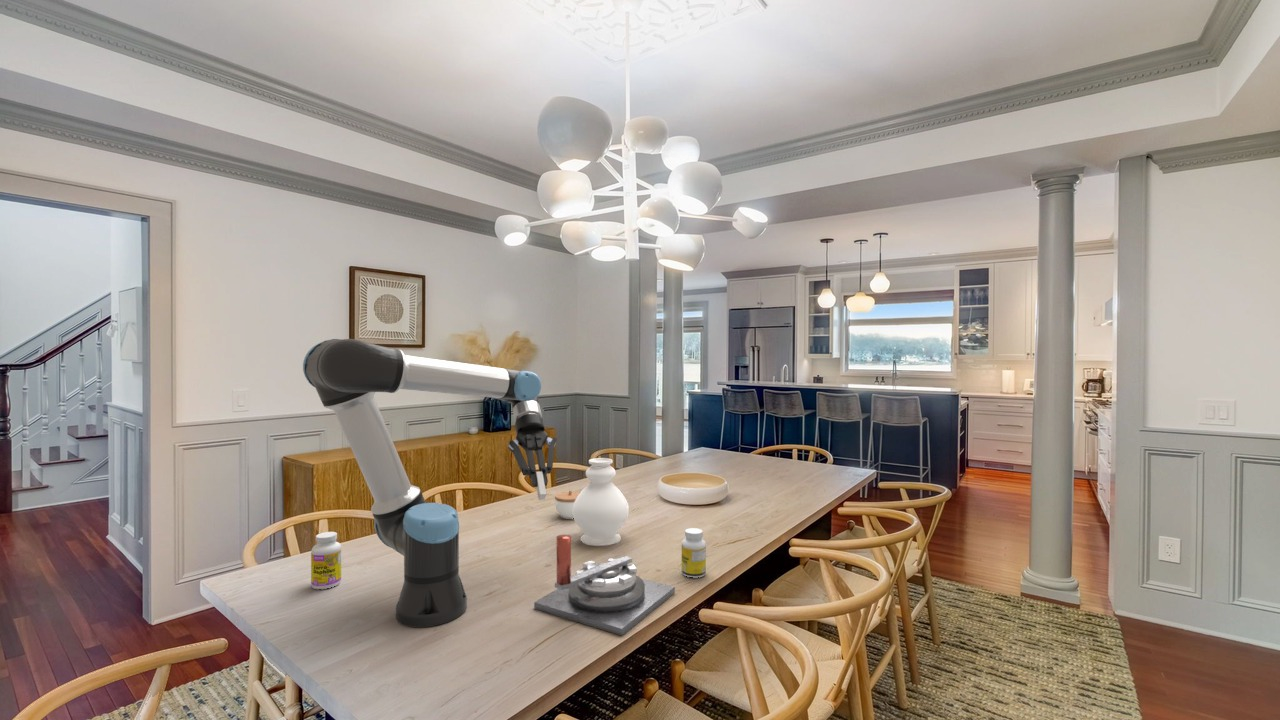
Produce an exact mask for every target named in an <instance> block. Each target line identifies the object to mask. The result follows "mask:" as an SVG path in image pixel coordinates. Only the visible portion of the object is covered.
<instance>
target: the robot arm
mask: <svg viewBox="0 0 1280 720" xmlns="http://www.w3.org/2000/svg"><path fill="white" fill-rule="evenodd" d="M302 371H303V374H304V377H305V379H306V381H308V383H309V384H310V386H312V387H314V388H315V390H316V392H317V394H318V396H319V398H320V401H321V403H322V405H323V408H326V409H329V410H332V411H333V412H334V413H335V416H336V418H337V421H338V422H339V424H340V426H341V430H342V431H343V434H344V436H345V438H346V440H347V442H348V445H349V447H350V449H351V451H352V454H353V456H354V458H355V461H356V463H357V464H358V465H357V466H358V468H359V469H360V472H361V473H362V475H363V478H364V481H365V483H366V485H367V487H368V489H369V491H370V494H371V497H372V498H373V501H374V502H373V504H372V505H371V507H370V511H371V514H372V516H373V518H374V525H373V526H374V531H375V533H376V536H377V537H378V539H379V540H380V541H381V542H382V543H383V544H384V545H386V546H387V547H388V548H391V549H393V550H394V551H395V552H397V553H399V554H400V555H401V556H403V573H404V574H403V577H404V578H403V583H402V584H403V585H402V587H401V592H400V593H399V599H398V601H397V604H396V606H395V620H396V621H397V622H398V624H400V625H403V626H406V627H411V628H425V627H426V628H427V627H428V628H429V627H434V626H438V625H442V624H446V623H449V622H451V621H453V620H456V619H458V618H459V617H460V616H462V615H463V614H464V613H465V612H466V610H467V608H468V603H467V602H468V601H467V600H468V599H467V598H468V597H467V593H466V592H465V588H464V585H463V583H462V580H461V577H460V574H459V573H460V572H459V569H460V568H459V567H460V566H459V565H460V564H459V563H460V562H459V561H460V557H459V555H460V551H459V550H460V547H459V545H460V544H459V542H460V541H459V539H460V537H459V536H460V533H459V532H460V522H459V514H458V511H457V510H456V509H455V508H454V507H453V506H451V505H448V504H446V503H439V502H426V499H425V497H424V495H423V492H422V491H421V489H420V487H419V486H416V485H412V484H411V482H410V479H409V477H408V475H407V472H406V470H405V467H404V465H403V463H402V460H401V458H400V456H399V454H398V451H397V449H396V448H397V447H395V443H394V441H393V440H392V437H391V434H390V432H389V430H388V427H387V425H386V422H385V420H384V417H383V416H382V413H381V411H380V408H379V406H378V404H377V401H376V398H375V393H389V394H395V393H396V392H398V391H399V390H405V391H406V390H408V391H416V392H417V391H418V392H428V393H438V394H452V395H463V396H472V397H473V396H474V397H484V398H493V399H497V400H500V401H503V402H505V403H508V404H511V408H512V415H513V420H514V421H513V422H514V426H515V432H516V436H515V439H514V440H509V442H508V445H507V448H508V450H510V451H511V453H512V454H513V457H514V458H515V461H516V463H517V465H518V467H519V469H520V471H521V474H522V475H523V476H525V477H526V476H529V479H530V481H531V487H532V488H536V492H537V497H538V501H543V500H544V501H545V500H546V497H547V490H546V487H547V486H548V482H549V480H548V475H549V474H552V469H553V466H554V453H555V447H556V444H557V440H558V439H557V437H553V438H551V437H549V435H548V434H547V432H546V430H545V429H546V428H545V425H544V421H543V415H542V410H541V406H540V401H539V395H540V393H541V389H542V382H541V379H540V377H539V375H538V374H537V373H535V372H533V371H529V370H516V369H511V368H510V369H509V368H503V367H502V368H501V367H496V366H489V365H488V366H487V365H484V364H483V365H481V364H476V363H474V364H473V363H466V362H459V361H453V360H445V359H437V358H431V357H423V356H416V355H410V354H405V353H404V352H403V351H402V349H399V348H392V347H387V346H383V345H378V344H374V343H371V342H367V341H365V340H364V341H363V340H359V339H354V338H344V339H342V338H341V339H339V338H332V339H327V340H323V341H321V342H319V343H317V344H315V345H314V346H312V347H311V348H310V349H309V350H308V352H307V353H306V354H305V356H304V359H303V361H302ZM545 444H546V445H547V447H548V450H547V459H546V461H545V456H544V451H543V447H545V446H544V445H545ZM520 447H521V448H522V449H523V450H525V456H526V460H525V456H524V455H523V453H522V451H521V449H520ZM534 453H535V456H536V459H537V467H538V471H537V467H536V462H535V456H534ZM526 461H527V462H526Z"/></svg>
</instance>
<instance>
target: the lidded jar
mask: <svg viewBox="0 0 1280 720" xmlns="http://www.w3.org/2000/svg"><path fill="white" fill-rule="evenodd" d="M580 492H581V491H572V490H568V491H563V492H559V493H556V494H555V496H554V501H555V503H554V504H555V510H556V512H557V514H558V515H559V516H560V517H561V518H562V517H563V518H566V519H565V520H573V519H572V518H573V515H572V508H573V504H574V502H575V500H576V498H577V497H578V495H579V494H580ZM563 518H562V519H563Z"/></svg>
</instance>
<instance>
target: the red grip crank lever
mask: <svg viewBox="0 0 1280 720" xmlns="http://www.w3.org/2000/svg"><path fill="white" fill-rule="evenodd" d="M555 538H556V582H554V588H555V589H560V590H564V589H566V588H569V587H571V586H574V585H576V584H577V587H578V589H579V590H580V591H581V592H583V593H585V594H588V595H592V596H598V597H612V596H618V595H622V594H625V593H628V592H630V591H631V590H633V589H634V588H635V586H636V576H637V573H638V568H637V566H636V565H635V564H634V563H633V558H632V557H630V556H627V555H624V556H621V557H619V558H611V557H610V558H608V560H607V562H599V563H596V562H595V561H593V560H588V561H586V562H583V563H582V568H581V569H579V570H576V571H575V574H574V575H572V536H571V535H570V534H559V535H557V536H556V537H555ZM631 563H632V564H631Z"/></svg>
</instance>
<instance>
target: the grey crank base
mask: <svg viewBox="0 0 1280 720" xmlns="http://www.w3.org/2000/svg"><path fill="white" fill-rule="evenodd" d="M675 588H676V587H675V586H672V585H668V584H666V583H665V584H664V583H660V582H656V581H651V580H647V579H644V578H641V577H639V576H638V575H636V586H635V588H634V589H633V590H631V591H630V592H628V593H625V594H622V595H618V596H612V597H598V596H592V595H588V594H585V593H583V592H581V591H580V590H579V589H578V587H577V584H576V585H574V586H571V587H569V588H566V589H564V590H560V589H558V588H555V589H554V590H553V591H551V592H549V593H548V594H546V595H544V596H542V597H541V598H539V599H537V600H536V601H534V603H533V604H534V605H533V609H535V610H538V611H541V612H543V613H547V614H550V615H554V616H557V617H560V618H563V619H567V620H569V621H573V622H576V623H579V624H582V625H586V626H589V627H592V628H594V629H595V628H596V629H598V630H601V631H604V632H605V631H606V632H609V633H611V634H615V635H618V636H621V637H623V636H624V635H625V634H626V633H627V632H629V631H631V629H632V628H634V627H635V626H636V625H638V623H640V622H641V621H642V620H644V619H645V618H646V617H647V616H648V615H650V614H651V613H652V612H653V611H655V610H656V609H657V608H658V607H659V606H661V605H663V603H664V602H666V601H667V600H668V599H670V598H671V597H672V596H673V595H674V594H675V593H676V590H675ZM673 593H674V594H673ZM671 595H672V596H671ZM666 599H667V600H666ZM665 600H666V601H665ZM660 604H661V605H660Z"/></svg>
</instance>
